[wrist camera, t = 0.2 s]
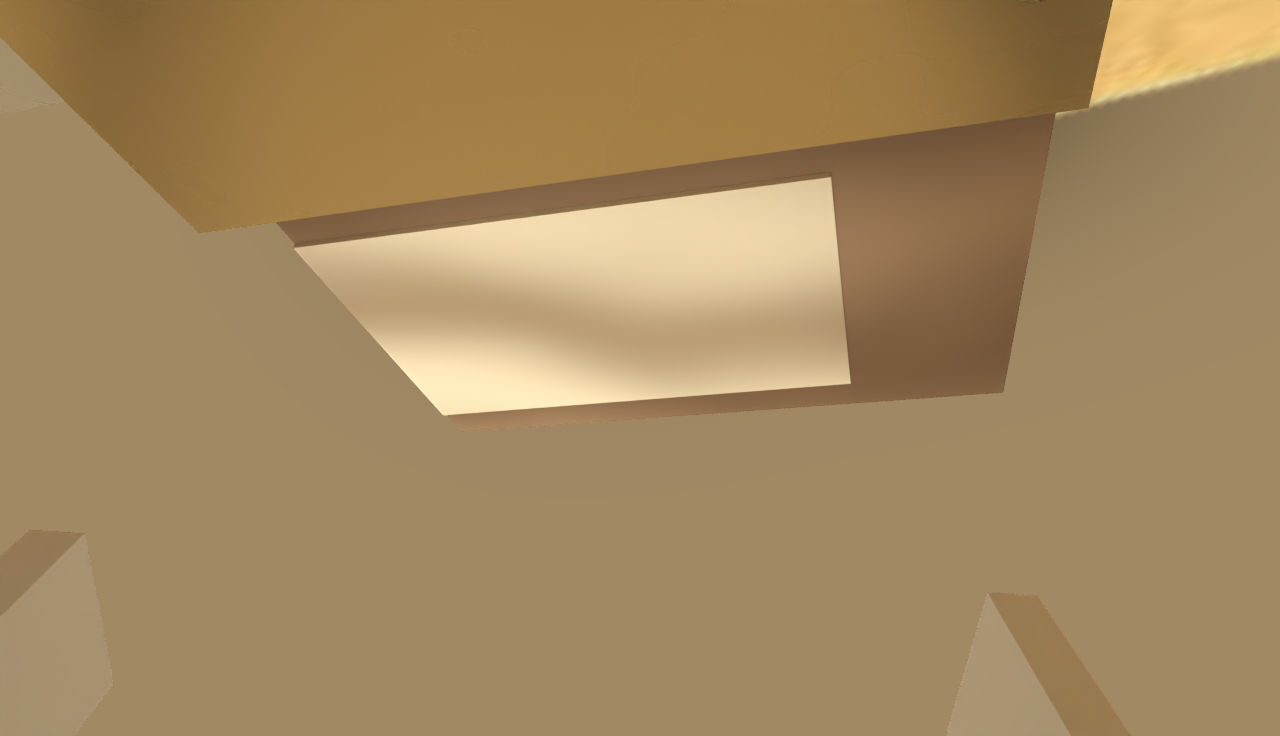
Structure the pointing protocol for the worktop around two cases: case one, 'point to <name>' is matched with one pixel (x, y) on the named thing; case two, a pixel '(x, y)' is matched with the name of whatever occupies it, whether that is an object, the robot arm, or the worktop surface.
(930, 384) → the walnut shelf
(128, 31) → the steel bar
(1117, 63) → the worktop surface
